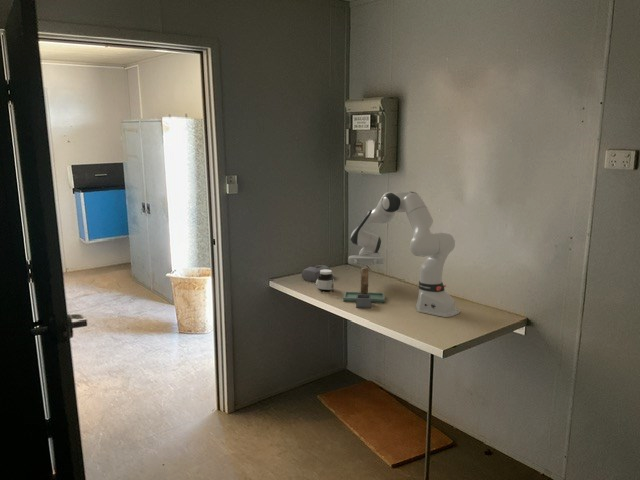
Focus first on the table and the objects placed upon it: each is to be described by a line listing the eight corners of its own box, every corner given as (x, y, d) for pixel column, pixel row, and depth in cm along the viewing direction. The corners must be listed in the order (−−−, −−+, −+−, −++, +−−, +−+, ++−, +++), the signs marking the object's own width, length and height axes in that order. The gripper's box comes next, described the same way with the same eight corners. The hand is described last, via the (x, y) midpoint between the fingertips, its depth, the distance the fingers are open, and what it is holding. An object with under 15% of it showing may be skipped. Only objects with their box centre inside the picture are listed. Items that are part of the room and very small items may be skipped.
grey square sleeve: (370, 303, 270) (371, 294, 269) (370, 308, 263) (370, 299, 262) (356, 303, 271) (356, 294, 270) (356, 307, 264) (356, 298, 263)
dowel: (369, 297, 279) (370, 268, 276) (364, 298, 276) (365, 269, 273) (363, 295, 281) (364, 267, 278) (358, 297, 279) (359, 268, 276)
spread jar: (327, 293, 289) (327, 273, 287) (310, 290, 294) (310, 271, 292) (337, 288, 299) (337, 269, 297) (320, 285, 304) (320, 266, 302)
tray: (384, 296, 283) (384, 292, 283) (384, 302, 272) (384, 299, 271) (344, 294, 286) (344, 291, 285) (343, 301, 274) (343, 297, 274)
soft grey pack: (317, 283, 309) (336, 277, 325) (317, 270, 308) (336, 264, 323) (298, 279, 319) (318, 273, 334) (298, 266, 317) (318, 260, 332)
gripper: (348, 252, 301) (347, 256, 288) (383, 252, 299) (383, 257, 285) (348, 262, 302) (347, 267, 289) (383, 263, 300) (383, 268, 287)
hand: (365, 262), depth 287 cm, fingers open, 8 cm apart
